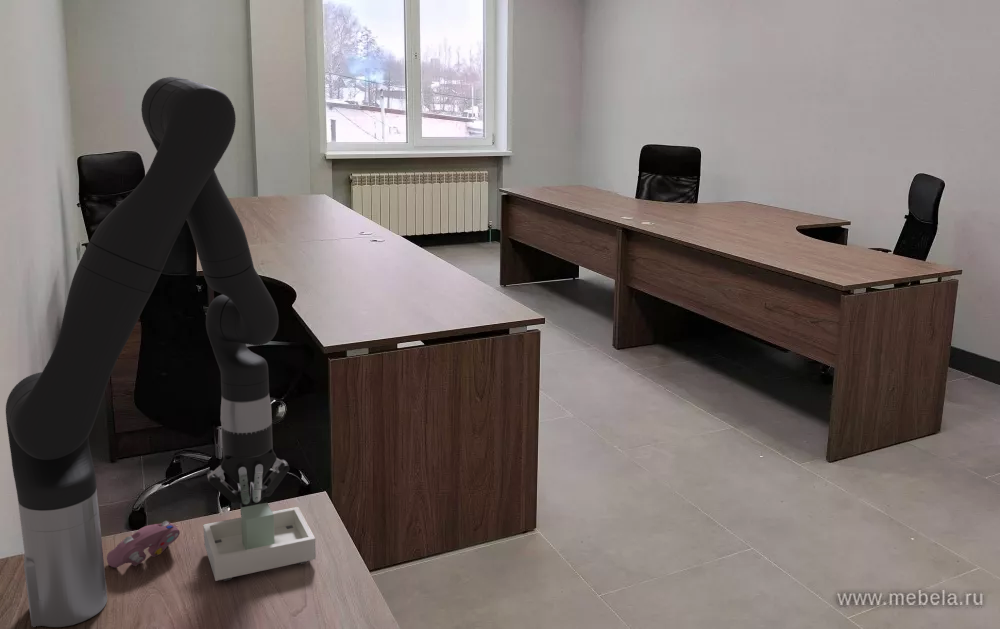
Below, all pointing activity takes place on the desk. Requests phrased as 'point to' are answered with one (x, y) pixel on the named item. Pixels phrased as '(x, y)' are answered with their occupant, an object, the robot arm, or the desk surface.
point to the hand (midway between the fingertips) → (251, 521)
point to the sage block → (257, 526)
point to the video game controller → (143, 544)
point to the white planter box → (234, 560)
